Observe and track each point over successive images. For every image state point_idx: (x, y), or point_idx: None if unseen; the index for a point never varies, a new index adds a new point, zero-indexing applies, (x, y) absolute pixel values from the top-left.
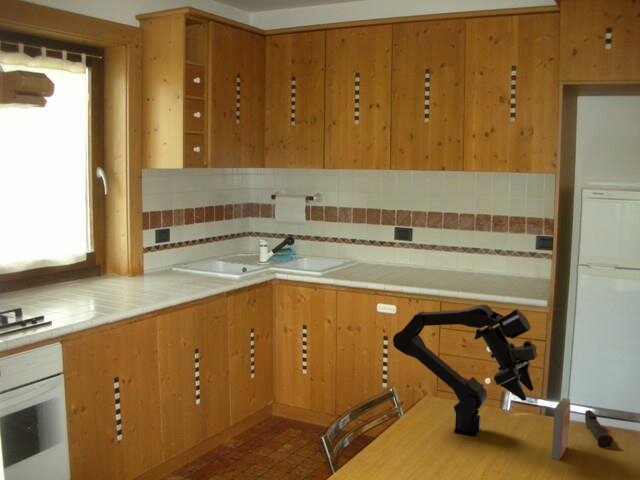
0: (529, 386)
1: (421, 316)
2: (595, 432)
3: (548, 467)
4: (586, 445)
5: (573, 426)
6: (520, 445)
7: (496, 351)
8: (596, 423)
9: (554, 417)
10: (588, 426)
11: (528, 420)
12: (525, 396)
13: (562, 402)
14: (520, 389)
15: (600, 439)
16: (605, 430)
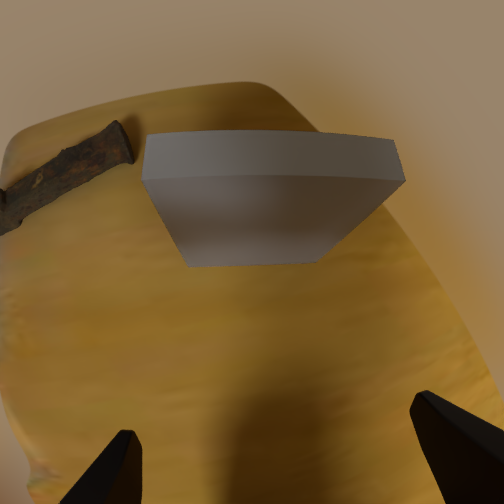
0: (132, 472)
1: None
2: (82, 171)
3: (377, 254)
4: (140, 194)
5: (20, 264)
6: (276, 384)
7: None
8: (33, 178)
9: (381, 202)
10: (23, 216)
11: (46, 406)
12: (435, 401)
13: (251, 157)
14: (499, 434)
15: (129, 147)
16: (70, 147)
